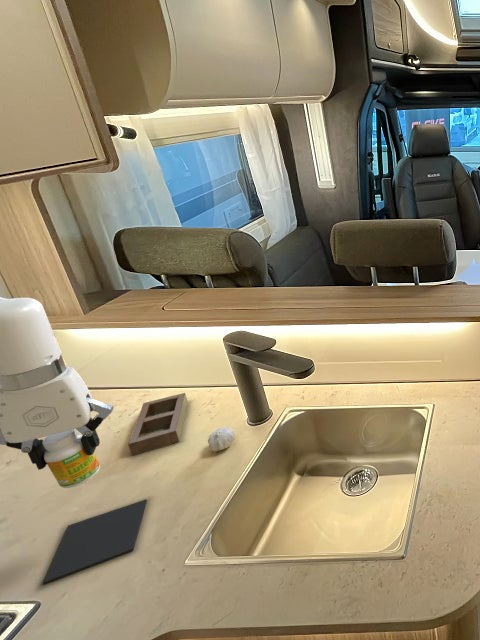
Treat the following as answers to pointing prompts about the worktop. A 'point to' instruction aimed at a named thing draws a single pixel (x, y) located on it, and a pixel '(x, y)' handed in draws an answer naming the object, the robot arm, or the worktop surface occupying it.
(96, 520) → the mat
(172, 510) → the worktop surface
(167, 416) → the stand
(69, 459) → the supplement bottle
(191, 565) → the worktop surface
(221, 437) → the garlic
